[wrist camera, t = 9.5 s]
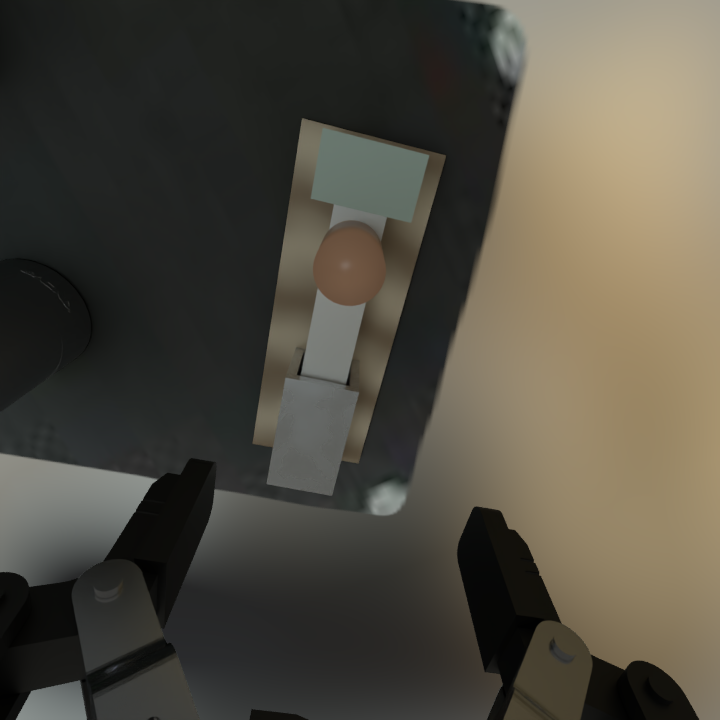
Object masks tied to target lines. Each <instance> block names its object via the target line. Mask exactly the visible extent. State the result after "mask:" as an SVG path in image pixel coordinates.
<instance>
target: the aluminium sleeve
mask: <svg viewBox="0 0 720 720" xmlns="http://www.w3.org/2000/svg"><path fill="white" fill-rule="evenodd" d="M305 351H306V349H302V348H297V347H296V348H295V351H294V354H293V357H292V360H291V363H290V366H289V369H288V372H287V375H286V378H285V383H284V389H283V395H282V400H281V406H280V411H279V417H278V423H277V428H276V434H275V440H274V445H273V451H272V456H271V462H270V468H269V473H268V479H267V484H269V485H275V486H280V487H286V488H291V489H297V490H303V491H308V492H314V493H319V494H325V495H330V496H332V494H333V490H334V486H335V482H336V478H337V475H338V471H339V467H340V463H341V459H342V456H343V452H344V448H345V444H346V440H347V437H348V433H349V429H350V425H351V421H352V418H353V414H354V410H355V406H356V402H357V399H358V395H359V363H360V361H359V360H354V359H352V361H351V365H350V369H349V373H348V378H347V382H346V385H343V384H338V383H333V382H328V381H323V380H318V379H313V378H309V377H304V376H301V372H302V367H303V361H304V356H305Z"/></svg>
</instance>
